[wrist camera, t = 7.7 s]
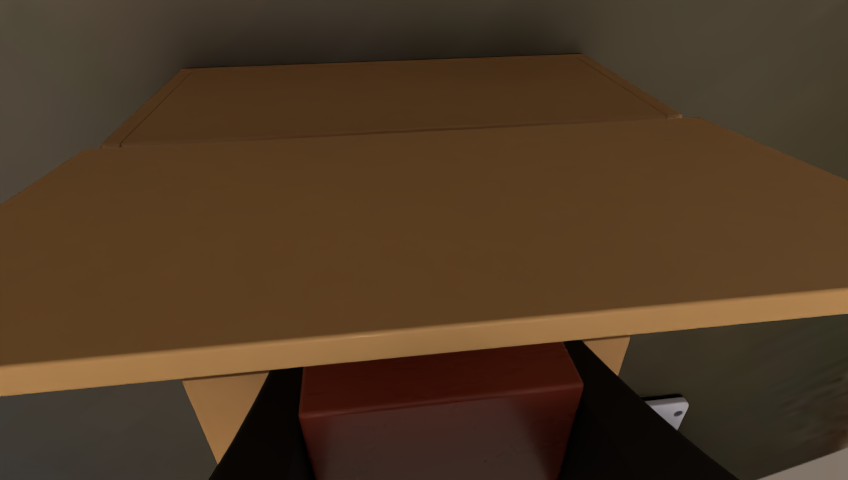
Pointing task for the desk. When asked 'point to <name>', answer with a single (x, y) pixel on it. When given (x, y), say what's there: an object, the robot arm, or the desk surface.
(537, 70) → the carton
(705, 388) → the desk surface
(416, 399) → the block
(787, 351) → the desk surface
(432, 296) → the flap
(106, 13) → the desk surface
